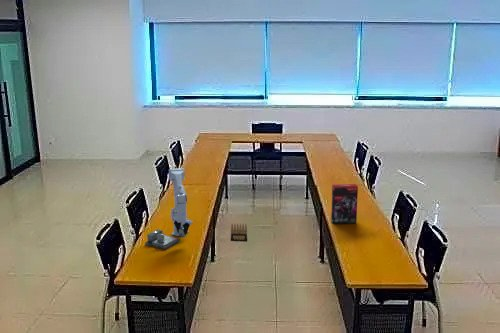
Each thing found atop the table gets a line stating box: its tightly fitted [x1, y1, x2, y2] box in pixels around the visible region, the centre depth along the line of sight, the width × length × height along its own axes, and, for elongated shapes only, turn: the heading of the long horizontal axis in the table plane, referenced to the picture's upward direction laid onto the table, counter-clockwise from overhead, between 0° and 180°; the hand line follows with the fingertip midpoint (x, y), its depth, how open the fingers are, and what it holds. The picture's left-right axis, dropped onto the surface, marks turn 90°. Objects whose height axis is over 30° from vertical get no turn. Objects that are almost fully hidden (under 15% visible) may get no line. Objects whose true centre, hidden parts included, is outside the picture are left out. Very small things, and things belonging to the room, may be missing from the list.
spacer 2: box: [178, 227, 187, 238], centre depth 329 cm, size 4×4×5 cm
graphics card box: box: [330, 183, 359, 225], centre depth 366 cm, size 17×7×27 cm, turn 96°
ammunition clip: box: [230, 223, 248, 243], centre depth 337 cm, size 11×2×12 cm, turn 85°
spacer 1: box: [157, 232, 165, 243], centre depth 329 cm, size 4×4×5 cm
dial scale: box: [144, 228, 181, 251], centre depth 334 cm, size 15×16×6 cm
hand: (182, 233), depth 329 cm, fingers closed on spacer 2, 4 cm apart
